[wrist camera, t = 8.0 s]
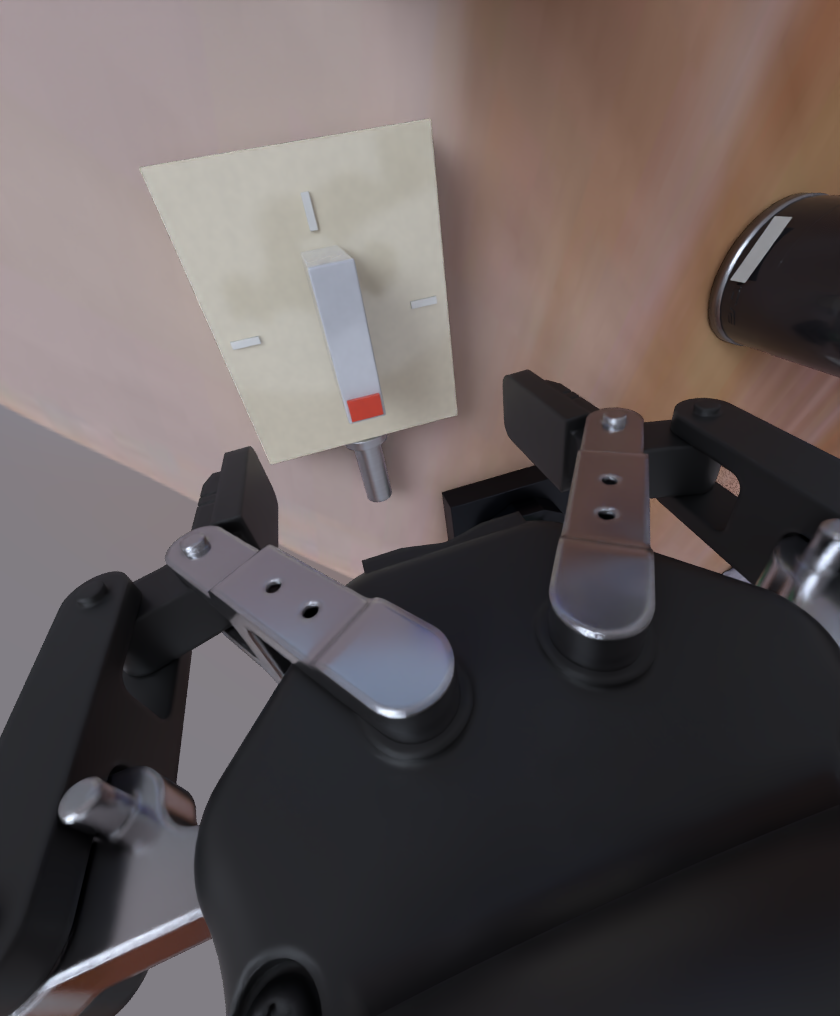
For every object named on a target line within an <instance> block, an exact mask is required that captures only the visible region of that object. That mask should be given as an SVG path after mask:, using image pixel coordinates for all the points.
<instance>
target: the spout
mask: <svg viewBox="0 0 840 1016" xmlns="http://www.w3.org/2000/svg"><path fill="white" fill-rule="evenodd" d="M386 437H387V434H385V435H381V436H378V437H374V438H370V439H366V440H363V441H359V442H355V443H351V444H348V445H345V446H346V447H347V448H348V449H351V450H354V451H355V454H356V458H357V461H358V465H359V469H360V472H361V476H362V479H363V483H364V486H365V490H366V493H367V497H368V499H369V500H370V501H373V502H382V501H385V500H387V499H388V498H389V497H390V496H391V494H392V489H391V485H390V481H389V476H388V472H387V468H386V463H385V459H384V455H383V450H382V446H381V444H382V443H383V442H384V441H385V440H386Z"/></svg>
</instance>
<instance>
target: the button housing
mask: <svg viewBox="0 0 840 1016" xmlns="http://www.w3.org/2000/svg"><path fill="white" fill-rule="evenodd" d="M569 493H570V490H568V491H565V492H561V491H560V490H559V489H558V488H557V487H556V486H555V485H554V484H553V483H552V482H551V481H550V480H549V479H548V478H547V477H546V476H545V475H544V474H543V473H542V472H541V470H540V469H539V468H538V467H537V466H536V465H535V466H531V467H528V468H525V469H521V470H518V471H514V472H511V473H507V474H504V475H501V476H497V477H494V478H490V479H487V480H483V481H480V482H476V483H473V484H470V485H466V486H463V487H459V488H456V489H452V490H449V491H445V492H442V496H443V504H444V511H445V519H446V526H447V534H448V541H449V540H451V539H453V538H455V537H456V536H458V535H460V534H462V533H464V532H466V531H467V530H469V529H471V528H473V527H475V526H476V525H478V524H480V523H482V522H486V521H489V520H492V519H495V518H498V517H501V516H505V515H508V514H511V513H514V512H517V511H519V512H520V514H521V515H522V516H523V518H524V519H525V520H526V521H538V520H542V521H554V522H561V523H564V519H565V514H566V509H567V504H568V498H569Z"/></svg>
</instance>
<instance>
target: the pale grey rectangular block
mask: <svg viewBox="0 0 840 1016" xmlns="http://www.w3.org/2000/svg"><path fill="white" fill-rule="evenodd" d="M300 255H301V259H302V262H303V266H304V269H305V273H306V277H307V280H308V284H309V288H310V291H311V295H312V299H313V302H314V306H315V310H316V313H317V317H318V320H319V324H320V328H321V331H322V335H323V339H324V342H325V346H326V350H327V353H328V357H329V360H330V364H331V368H332V371H333V375H334V379H335V382H336V386H337V389H338V392H339V395H340V398H341V401H342V404H343V407H344V410H345V413H346V416H347V419H348V422H349V423H350V424H352V423H356V422H360V421H364V420H368V419H372V418H376V417H380V416H384V415H386V411H385V406H384V401H383V396H382V391H381V386H380V381H379V377H378V372H377V367H376V362H375V357H374V352H373V347H372V342H371V337H370V333H369V328H368V323H367V318H366V313H365V308H364V303H363V298H362V293H361V289H360V284H359V279H358V274H357V269H356V264H355V260H354V259H353V258H352V257H351V256H350V255H348V254H347V253H346V252H345V251H344V250H342V249H341V248H340V247H339V246H337V245H335V246H330V247H325V248H320V249H314V250H309V251H304V252H301V254H300Z"/></svg>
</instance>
